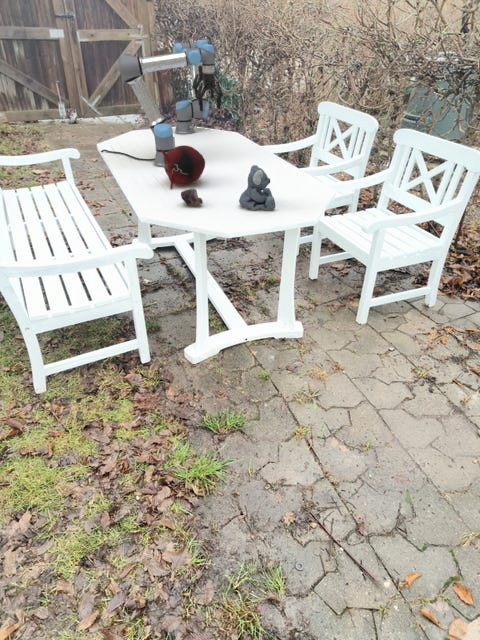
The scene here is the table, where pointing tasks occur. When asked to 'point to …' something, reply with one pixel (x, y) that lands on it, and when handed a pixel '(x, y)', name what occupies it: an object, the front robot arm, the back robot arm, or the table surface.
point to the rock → (191, 197)
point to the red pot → (183, 165)
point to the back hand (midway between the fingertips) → (204, 98)
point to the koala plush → (257, 191)
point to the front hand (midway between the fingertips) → (210, 109)
